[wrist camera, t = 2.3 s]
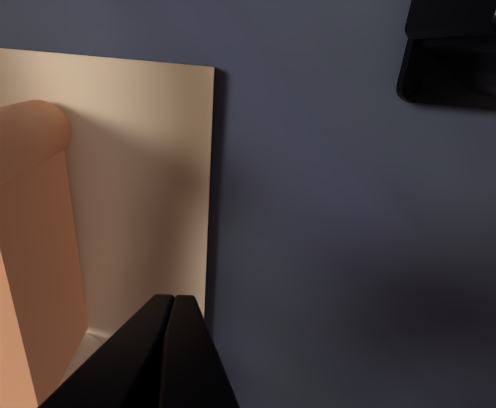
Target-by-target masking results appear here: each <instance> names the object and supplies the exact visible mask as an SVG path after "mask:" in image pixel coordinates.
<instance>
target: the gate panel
mask: <svg viewBox="0 0 496 408" xmlns="http://www.w3.org/2000/svg"><path fill="white" fill-rule="evenodd" d="M70 138H71V128H70V124H69V122H68V120H67V118H66V116H65V115H64V114H63V112H62V111H61V110H60V109H58V108H57V107H56V106H54V105H53V104H51V103H49V102H46V101H43V100H28V101H24V102H20V103H15V104H11V105H7V106H2V107H0V408H37V407H38V406H39V405H40V404H41V403H42V402H43V401H44V400H45V399H46V398H47V397H48V396H49V395H50V394H51V393H53V392H54V391H55V390H56V389H57V388H58V386H59V384H60V382H61V380H62V378H63V376H64V374H65V372H66V370H67V368H68V366H69V364H70V362H71V360H72V358H73V357H74V355H75V353H76V351H77V349H78V347H79V345H80V343H81V341H82V339H83V337H84V335H85V333H86V331H87V329H88V322H87V314H86V307H85V300H84V292H83V285H82V278H81V270H80V263H79V255H78V248H77V241H76V233H75V226H74V219H73V211H72V204H71V197H70V189H69V182H68V174H67V167H66V160H65V152H64V149H65V148H66V147H67V145H68V144H69V142H70Z"/></svg>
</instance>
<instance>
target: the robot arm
mask: <svg viewBox="0 0 496 408" xmlns="http://www.w3.org/2000/svg"><path fill="white" fill-rule="evenodd" d="M405 33H406V35H407V37H408V41H407V45H406V49H405V53H404V58H403V62H402V66H401V70H400V74H399V78H398V82H397V89H396V91H397V94H398V96H399V97H400V98H401V99H402V100H405V101H409V102H412V103H424V104H436V105H448V106H460V107H472V108H484V109H496V0H412V1H411V5H410V9H409V13H408V18H407V22H406V26H405ZM415 79H416V80H417V82H418V87H417V89H416V91H415V92H413V93H410V91H409V86H410V84H411V82H412V81H414V80H415ZM37 408H240V407H239V404H238V402H237V399H236V397H235V394H234V392H233V389H232V387H231V385H230V382H229V380H228V377H227V375H226V372H225V370H224V367H223V365H222V362H221V360H220V357H219V355H218V352H217V350H216V347H215V345H214V342H213V340H212V337H211V335H210V332H209V330H208V327H207V325H206V322H205V320H204V317H203V315H202V312H201V310H200V307H199V305H198V302H197V300H196V298H195V296H193V295H176V296H175V297H174V295H172V294H155V295H153V296H152V297H151V298H150V299H149V300H148V301H147V302H146V303H145V304H144V305H143V306H142V307H141V308H140V309H139V310H138V311H137V312H136V313H135V314H134V315H133V316H131V317H130V318H129V319H128V320H127V321H126V322H125V323H124V324H123V325H122V326H121V327H120V328H119V329H118V330H117V331H116V332H115V333H114V334H113V335H112V336H111V337H110V338H109V339H108V340H107V341H106V342H104V343H103V344H102V345H101V346H100V347H99V348H98V349H97V350H96V351H95V352H94V353H93V354H92V355H91V356H90V357H89V358H88V359H87V360H86V361H85V362H84V363H83V364H82V365H81V366H80V367H78V368H77V369H76V370H75V371H74V372H73V373H72V374H71V375H70V376H69V377H68V378H67V379H66V380H65V381H64V382H63V383H62V384H61V385H60V386H59V387H58V388H57V389H56V390H55V391H54V392H53V393H51V394H50V395H49V396H48V397H47V398H46V399H45V400H44V401H43V402H42V403H41V404H40V405H39V406H38V407H37Z"/></svg>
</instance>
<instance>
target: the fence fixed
mask: <svg viewBox="0 0 496 408" xmlns="http://www.w3.org/2000/svg"><path fill="white" fill-rule="evenodd" d="M101 345H102V343H101V341H100V340H99V339H98V338H97V337H95V336H94V335H92V334H90V333H87V332H86V333H85V335H84V337H83V339H82V341H81V343H80V345H79V347H78V349H77V351H76V353H75V355H74V357H73V358H72V360H71V362H70V364H69V366H68V368H67V370H66V372H65V374H64V376H63V378H62V380H61V382H60V384H59V386H60V385H61V384H62V383H63V382H64V381H65V380H66V379H67V378H68V377H69V376H70V375H71V374H72V373H73V372H74V371H75V370H76V369H77V368H78V367H80V366H81V365H82V364H83V363H84V362H85V361H86V360H87V359H88V358H89V357H90V356H91V355H92V354H93V353H94V352H95V351H96V350H97V349H98V348H99V347H100V346H101ZM59 386H58V387H59Z"/></svg>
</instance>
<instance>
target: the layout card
mask: <svg viewBox="0 0 496 408" xmlns="http://www.w3.org/2000/svg"><path fill="white" fill-rule="evenodd" d="M214 69H215V67H210V66H199V65H188V64H176V63H165V62H154V61H143V60H131V59H120V58H109V57H97V56H86V55H75V54H64V53H52V52H41V51H30V50H18V49H7V48H0V107H2V106H7V105H11V104H15V103H20V102H24V101H28V100H43V101H46V102H49V103H51V104H53V105H54V106H56V107H57V108H58V109H60V110H61V111H62V112H63V114H64V115H65V116H66V118H67V120H68V122H69V124H70V128H71V138H70V142H69V144H68V145H67V147H66V148H65V149H64V152H65V160H66V167H67V174H68V182H69V189H70V197H71V204H72V211H73V219H74V226H75V233H76V241H77V248H78V255H79V263H80V270H81V278H82V285H83V292H84V300H85V307H86V314H87V322H88V329H87V331H86V332H87V333H90V334H92V335H94V336H95V337H97V338H98V339H99V340H100V341H101V343H102V344H103V343H104V342H106V341H107V340H108V339H109V338H110V337H111V336H112V335H113V334H114V333H115V332H116V331H117V330H118V329H119V328H120V327H121V326H122V325H123V324H124V323H125V322H126V321H127V320H128V319H129V318H130V317H131V316H133V315H134V314H135V313H136V312H137V311H138V310H139V309H140V308H141V307H142V306H143V305H144V304H145V303H146V302H147V301H148V300H149V299H150V298H151V297H152V296H153V295H155V294H172V295H174V297H175V296H176V295H193V296H195V298H196V300H197V302H198V305H199V307H200V310H201V312H202V315H203V317H204V310H205V286H206V262H207V237H208V213H209V189H210V165H211V141H212V117H213V93H214Z"/></svg>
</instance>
